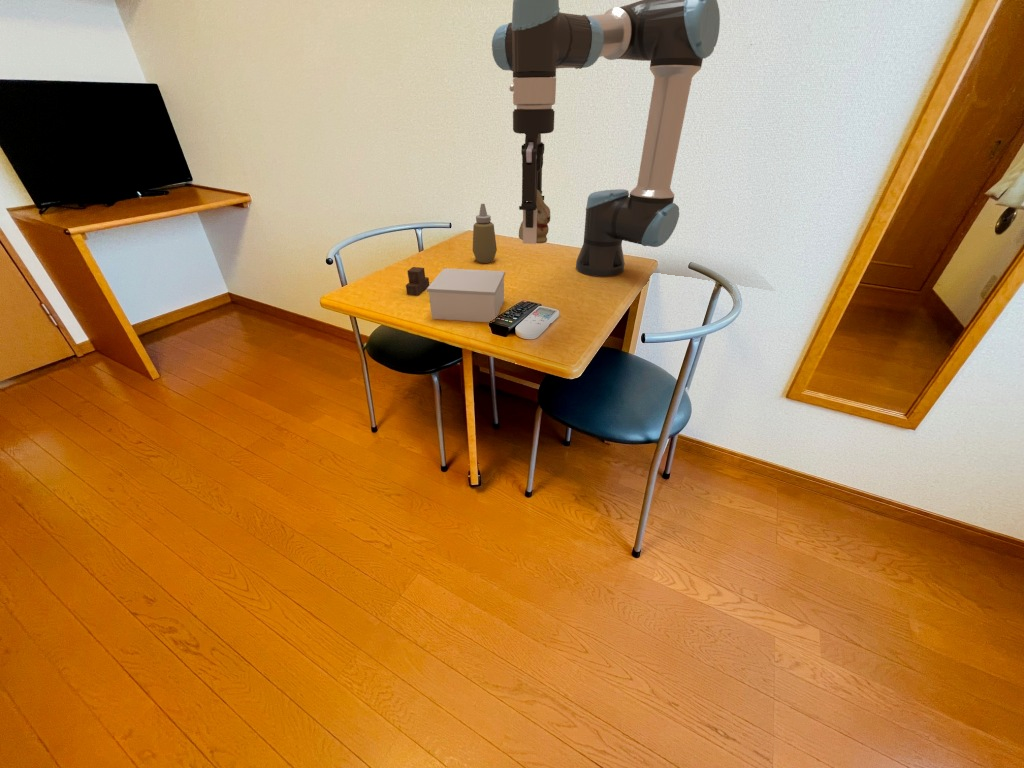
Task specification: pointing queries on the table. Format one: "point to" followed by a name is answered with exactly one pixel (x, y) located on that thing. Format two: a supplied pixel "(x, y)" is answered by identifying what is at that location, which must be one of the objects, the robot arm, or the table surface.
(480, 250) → the squeeze bottle
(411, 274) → the stack of crates
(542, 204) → the chocolate bunny
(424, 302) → the table surface
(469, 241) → the table surface
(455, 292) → the storage box
